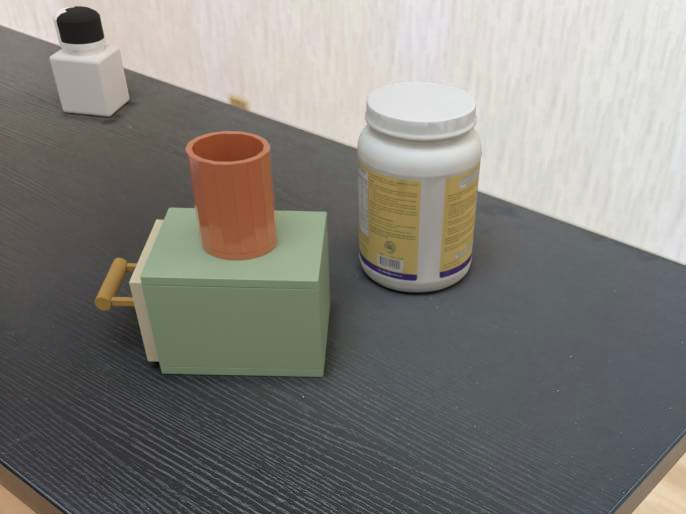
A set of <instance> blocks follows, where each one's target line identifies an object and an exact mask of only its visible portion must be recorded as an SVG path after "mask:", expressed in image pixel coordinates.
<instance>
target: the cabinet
mask: <svg viewBox="0 0 686 514" xmlns="http://www.w3.org/2000/svg"><path fill="white" fill-rule="evenodd" d="M163 220H164V221H163V223H162V226H161V228H160V230H159V233H158V235H157V237H156V240H155V242H154V245H153V247H152V249H151V252H150V254H149V257H148V259H147V261H146V264H145V266H144V268H143V271H142V273H141V276H140V279H141V284H142V289H143V293H144V297H145V302H146V306H147V311H148V315H149V319H150V324H151V328H152V333H153V337H154V341H155V346H156V350H157V355H158V359H159V362H158V363H159V368H160V372H161V375H202V376H203V375H205V376H250V377H251V376H252V377H254V376H255V377H296V378H297V377H300V378H301V377H302V378H304V377H305V378H308V377H309V378H323V377H324V374H325V362H326V354H327V343H328V332H329V324H330V323H329V321H330V314H331V313H330V312H331V281H330V258H329V233H328V232H329V231H328V228H329V227H328V213H327V211H309V210H279V209H278V210H277V209H276V220H277V231H278V233H277V238H278V242H277V245H276V247H275V248H274V249H273V250H272V251H270V252H269V253H267V254H265V255H263V256H260V257H257V258H253V259H247V260H226V259H221V258H217V257H214V256H212V255H210V254H208V253H207V252H206V251H205V250H204V249H203V248H202V245H201V240H200V237H199V231H198V225H197V219H196V213H195V207H168V209H167V212H166V214H165V216H164V218H163Z"/></svg>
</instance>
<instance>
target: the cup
mask: <svg viewBox="0 0 686 514" xmlns="http://www.w3.org/2000/svg"><path fill="white" fill-rule="evenodd" d="M184 151H185V157H186V162H187V169H188V175H189V182H190V189H191V192H192V200H193V208H195V213H196V219H197V225H198V231H199V237H200V240H201V245H202V248H203V249H204V250H205V251H206V252H207V253H208V254H210V255H212V256H214V257H217V258H221V259H226V260H247V259H253V258H257V257H260V256H263V255H265V254H267V253H269V252H270V251H272V250H273V249H274V248H275V247H276V245H277V242H278V238H277V233H278V231H277V220H276V210H277V209H276V197H275V187H274V178H273V177H274V175H273V164H272V163H273V162H272V153H271V152H272V151H271V145H270V143H269V142H268V140H267V139H266V138H264V137H263V136H260V135H258V134H255V133H251V132H246V131H239V130H237V131H235V130H234V131H233V130H222V131H215V132H214V131H213V132H209V133H205V134H202V135H199V136H196V137H195V138H193V139H191V140H189V141H188V142H187V144H186V147H185V149H184Z"/></svg>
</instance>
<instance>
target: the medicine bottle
mask: <svg viewBox="0 0 686 514" xmlns="http://www.w3.org/2000/svg"><path fill="white" fill-rule="evenodd" d="M52 20H53V24H54V28H55V31H56V35H57V39H58V44H59V47H60V48H61V49H59V50H58V51H55V52H54V53H53V54H52V55H50V56H49V62H50V66H51V70H52V74H53V79H54V82H55V86H56V89H57V93H58V98H59V101H60V105H61V107H62V108H61V109H62V112H64V113H65V114H67V113H68V114H75V115H76V114H77V115H85V116H95V117H107V118H110V117H112V116H113V115H114V114H115V113H117V111H119V109H121V108H122V107H123V106H124V105H125V104H126V103H128V102H129V101H130V93H129V90H128V84H127V80H126V74H125V70H124V65H123V60H122V59H123V58H122V55H121V48H120V47H119V46H118V45H111V44H106V38H105V33H104V28H103V24H102V19H101V15H100V13H99V12H98V11H97V10H95V9H93V8H91V7H88V6H82V5H74V6H66V7H62V8H59V9H58V10H57V11H55V12H54V13H53V16H52Z"/></svg>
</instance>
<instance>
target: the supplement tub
mask: <svg viewBox="0 0 686 514" xmlns="http://www.w3.org/2000/svg"><path fill="white" fill-rule="evenodd" d="M365 105H366V106H365V107H366V108H365V109H366V111H365V114H364V120H365V122H366V125H365V126H364V127H363V129H362V130H361V131H360V134H359V136H358V138H357V139H358V140H357V146H356V152H357V191H358V193H357V195H358V197H357V198H358V201H357V202H358V257H359V261H360V264H361V267H362V269H363V270H364V273H365V274H366V275H367V276H368V277H369V278H370V279H371V280H372V281H374V282H375V283H377V284H378V285H380V286H382V287H385V288H388V289H391V290H393V291H397V292H403V293H404V292H405V293H429V292H430V293H431V292H436V291H440V290H444V289H446V288H449V287H451V286H453V285H455V284H456V283H458V282H460V281H461V280H462V279H463V278H464V277H465V276H466V274H467V273H468V272H469V270H470V267H471V264H472V260H473V245H474V233H475V223H476V222H475V221H476V213H477V201H478V190H479V180H480V171H481V161H482V160H481V159H482V153H483V152H482V141H481V138H480V136H479V134H478V132H477V130H476V129H475V127H476V125H477V122H478V118H477V115H476V114H477V100H476V99H475V96H473V95H472V94H470V93H469V92H468V91H466V90H464V89H462V88H459V87H456V86H453V85H449V84H446V83H445V84H444V83H440V82H433V81H402V82H401V81H400V82H395V83H393V82H392V83H389V84H386V85H385V84H384V85H382V86H379V87H377V88H375V89H373V90H372V91H370V92H369V94H368V95H367V97H366V103H365Z"/></svg>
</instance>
